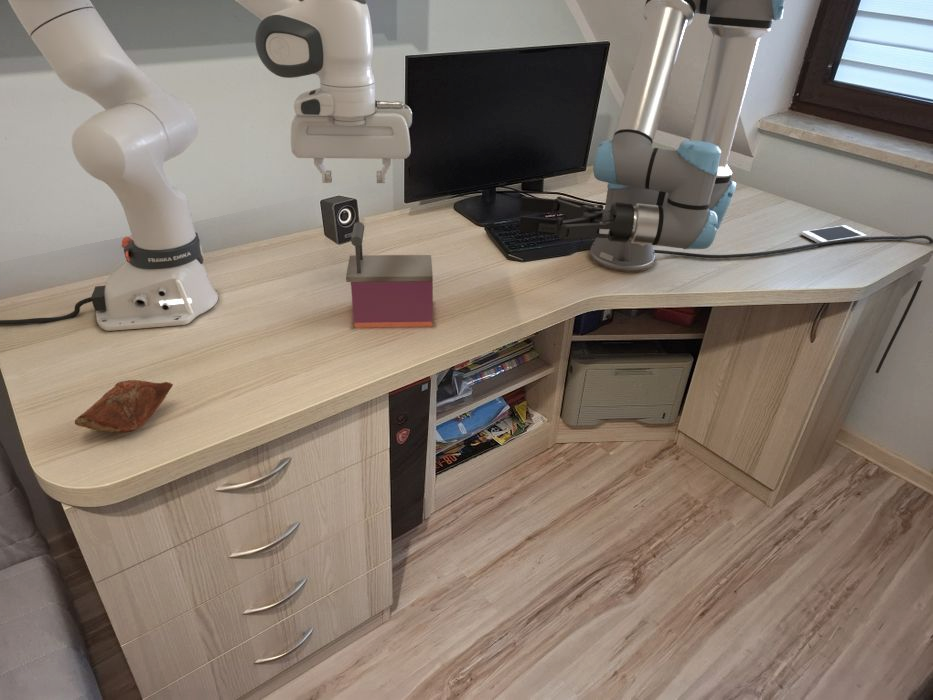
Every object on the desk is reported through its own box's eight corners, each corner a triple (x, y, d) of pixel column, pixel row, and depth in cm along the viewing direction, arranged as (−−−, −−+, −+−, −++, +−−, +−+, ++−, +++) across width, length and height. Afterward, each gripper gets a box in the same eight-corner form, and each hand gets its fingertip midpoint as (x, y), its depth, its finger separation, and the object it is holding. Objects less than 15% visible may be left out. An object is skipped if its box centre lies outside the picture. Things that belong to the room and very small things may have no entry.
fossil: (179, 377, 103) (140, 354, 94) (189, 423, 99) (149, 403, 90) (107, 409, 103) (61, 389, 94) (114, 456, 99) (67, 439, 90)
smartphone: (800, 234, 170) (801, 231, 170) (844, 227, 175) (845, 224, 174) (821, 245, 165) (822, 241, 164) (865, 238, 169) (867, 234, 169)
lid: (346, 282, 119) (342, 239, 114) (350, 260, 126) (346, 219, 122) (432, 281, 120) (432, 238, 115) (431, 259, 128) (431, 219, 123)
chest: (354, 327, 124) (350, 282, 119) (357, 304, 132) (354, 260, 127) (432, 326, 126) (432, 281, 120) (431, 303, 133) (431, 260, 128)
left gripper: (411, 97, 109) (412, 176, 117) (289, 95, 107) (299, 175, 115) (411, 105, 104) (413, 188, 111) (283, 104, 102) (294, 188, 110)
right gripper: (636, 264, 113) (517, 253, 114) (619, 223, 135) (519, 213, 136) (645, 223, 109) (522, 212, 110) (626, 187, 131) (523, 178, 132)
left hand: (354, 182), depth 113 cm, fingers open, 8 cm apart
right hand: (520, 212), depth 123 cm, fingers open, 13 cm apart
